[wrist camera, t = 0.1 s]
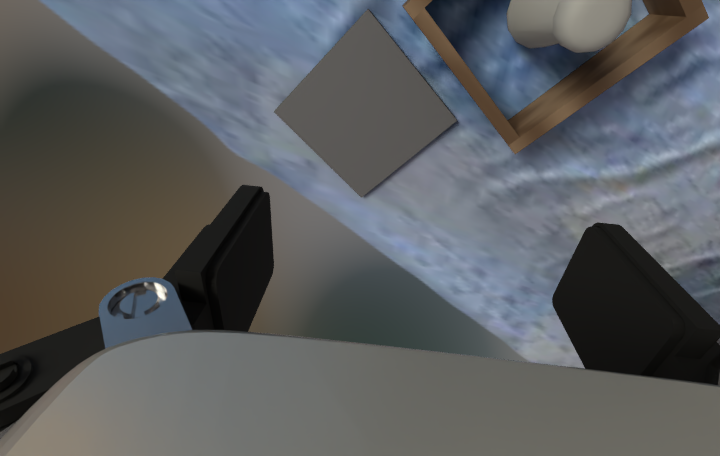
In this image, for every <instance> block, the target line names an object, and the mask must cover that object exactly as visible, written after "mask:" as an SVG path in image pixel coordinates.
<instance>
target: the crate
mask: <svg viewBox="0 0 720 456" xmlns="http://www.w3.org/2000/svg"><path fill="white" fill-rule="evenodd" d="M431 1H432V0H407V1H406V2H405V3H404V5H403V7H404V9H405V10H406V11H407V13H408V14H409V15H410V16H411V18H412V19H413V20H414V22H415V23H416V24H417V26H418V27H419V28H420V30H421V31H422V32H423V34H424V35H425V36H426V38H427V39H428V40H429V42H430V43H431V44H432V45H433V47H434V48H435V49H436V51H437V52H438V53H439V55H440V56H441V57H442V59H443V60H444V61H445V63H446V64H447V65H448V67H449V68H450V69H451V71H452V72H453V73H454V75H455V76H456V77H457V78H458V80H459V81H460V82H461V84H462V85H463V86H464V88H465V89H466V90H467V92H468V93H469V94H470V96H471V97H472V98H473V100H474V101H475V102H476V104H477V105H478V106H479V107H480V109H481V110H482V111H483V113H484V114H485V115H486V117H487V118H488V119H489V121H490V122H491V123H492V125H493V126H494V127H495V129H496V130H497V131H498V133H499V134H500V135H501V137H502V138H503V139H504V140H505V142H506V143H507V144H508V146H509V147H510V148H511V150H512V151H513V152H514V153H515V154H516V153H518V152H519V151H521V150H522V149H523V148H525V147H526V146H528V145H529V144H530V143H532V142H533V141H535V140H536V139H538V138H539V137H540V136H542V135H543V134H545V133H546V132H548V131H549V130H550V129H552V128H553V127H555V126H556V125H557V124H559V123H560V122H562V121H563V120H565V119H566V118H567V117H569V116H570V115H572V114H573V113H574V112H576V111H577V110H579V109H580V108H582V107H583V106H584V105H586V104H587V103H589V102H590V101H592V100H593V99H594V98H596V97H597V96H599V95H600V94H601V93H603V92H604V91H606V90H607V89H609V88H610V87H611V86H613V85H614V84H616V83H617V82H619V81H620V80H621V79H623V78H624V77H626V76H627V75H628V74H630V73H631V72H633V71H634V70H636V69H637V68H638V67H640V66H641V65H643V64H644V63H646V62H647V61H648V60H650V59H651V58H653V57H654V56H655V55H657V54H658V53H660V52H661V51H663V50H664V49H665V48H667V47H668V46H670V45H671V44H672V43H674V42H675V41H677V40H678V39H680V38H681V37H682V36H684V35H685V34H687V33H688V32H690V31H691V30H692V29H694V28H695V27H697V26H698V25H699V24H701V23H702V22H704V21H705V20H707V19H708V18H709V17H708V14H707V12H706V10H705V7H704V5H703V3H702V0H643V2H644V4H645V6H646V8H647V10H648V12H649V15H648V16H646V17H645V18H644V19H642V20H641V21H640V22H638V23H637V24H636V25H634V26H633V27H632V28H630V29H629V30H628V31H626V32H625V33H624V34H622V35H621V36H620V37H618V38H617V39H616V40H614V41H613V42H612V43H611V44H609V45H608V46H606V47H605V48H604V49H602V50H601V51H600V52H599V53H597V54H596V55H595V56H593V57H592V58H591V59H589V60H588V61H587V62H585V63H584V64H583V65H581V66H580V67H579V68H577V69H576V70H575V71H573V72H572V73H571V74H569V75H568V76H567V77H565V78H564V79H563V80H561V81H560V82H559V83H557V84H556V85H555V86H553V87H552V88H551V89H549V90H548V91H547V92H545V93H544V94H543V95H541V96H540V97H539V98H537V99H536V100H535V101H533V102H532V103H531V104H529V105H528V106H527V107H525V108H524V109H523V110H521V111H520V112H519V113H518V114H516V115H515V116H514V117H512V118H511V119H510V120H508V121H507V120H506V118H505V117H504V115H503V114H502V113H501V111H500V110H499V109H498V107H497V106H496V105H495V103H494V102H493V100H492V99H491V98H490V96H489V95H488V94H487V92H486V91H485V90H484V88H483V87H482V86H481V84H480V83H479V81H478V80H477V79H476V77H475V76H474V75H473V73H472V72H471V71H470V69H469V68H468V66H467V65H466V64H465V62H464V61H463V60H462V58H461V57H460V56H459V54H458V53H457V52H456V50H455V49H454V47H453V46H452V45H451V43H450V42H449V41H448V39H447V38H446V37H445V35H444V34H443V32H442V31H441V30H440V28H439V27H438V26H437V24H436V23H435V22H434V20H433V19H432V18H431V16H430V15H429V13H428V12H427V11H426V9H425V7H426V6H427V5H428V4H429V3H430V2H431Z"/></svg>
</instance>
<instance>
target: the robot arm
mask: <svg viewBox="0 0 720 456" xmlns="http://www.w3.org/2000/svg"><path fill="white" fill-rule="evenodd" d="M273 268H274V259H273V243H272V227H271V211H270V196H269V193H268V192H264V191H263V188H262V187H258V186H248V185H242V186H241V187H240V188H239V189H238V190H237V191H236V193H235V194H234V195H233V197H232V198H231V199H230V200H229V202H228V203H227V204H226V205H225V207H224V208H223V209H222V211H221V212H220V213H219V214H218V216H217V217H216V218H215V219H214V221H213V222H212V223H211V224H210V225H207V226H205V227H204V228H203V229H202V231H201V232H200V233H199V234H198V236H197V237H196V238H195V239H194V241H193V242H192V243H191V244H190V245H189V247H188V248H187V249H186V250H185V252H184V253H183V254H182V255H181V257H180V258H179V259H178V260H177V262H176V263H175V264H174V265H173V266H172V268H171V269H170V270H169V272H168V273H167V274H166V275H165V276H164V278H163V279H159V278H141V279H136V280H132V281H129V282H127V283H124V284H122V285H120V286H118V287H117V288H115V289H113V290H112V291H110V292H109V293H108V294H107V295H106V296H105V297H104V298H103V300H102V302H101V303H100V305H99V317H97V318H94V319H92V320H89V321H86V322H84V323H81V324H78V325H76V326H73V327H70V328H68V329H65V330H63V331H60V332H57V333H55V334H52V335H50V336H47V337H44V338H42V339H39V340H36V341H34V342H31V343H28V344H26V345H23V346H20V347H18V348H15V349H13V350H10V351H7V352H5V353H2V354H0V456H720V345H719V344H718V343H717V342H716V341H717V340H718V339H719V338H720V325H719V324H718V323H717V322H716V321H715V320H714V319H713V318H712V317H711V316H710V315H709V314H708V313H707V312H706V311H705V310H704V309H703V308H702V307H701V306H700V305H699V304H698V303H697V302H696V301H695V300H694V299H693V298H692V297H691V296H690V295H689V294H688V293H687V292H686V291H685V290H684V289H683V288H682V287H681V286H680V285H679V284H678V283H677V282H676V281H675V280H674V279H673V278H672V277H671V276H670V275H669V274H668V273H667V272H666V271H665V270H664V269H663V268H662V267H661V266H660V265H659V264H658V263H657V261H656V260H655V259H654V258H653V257H652V256H651V255H650V254H649V253H648V252H647V251H646V250H645V249H644V248H643V247H642V246H641V245H640V244H639V243H638V242H637V241H636V240H635V239H634V238H633V237H632V236H631V235H630V234H629V233H628V232H627V231H626V230H625V229H624V228H623V227H622V226H620V225H616V224H607V223H595V224H594V225H593V226H592V227H588V228H587V229H586V230H585V232H584V234H583V236H582V238H581V240H580V242H579V244H578V246H577V248H576V250H575V252H574V254H573V256H572V258H571V260H570V262H569V264H568V266H567V268H566V270H565V272H564V274H563V276H562V278H561V280H560V282H559V284H558V286H557V288H556V290H555V292H554V295H553V299H552V303H553V307H554V309H555V311H556V313H557V315H558V317H559V319H560V320H561V322H562V324H563V326H564V328H565V330H566V332H567V334H568V336H569V338H570V340H571V342H572V344H573V346H574V348H575V350H576V351H577V353H578V355H579V357H580V359H581V361H582V363H583V365H584V367H585V369H583V368H574V367H566V366H557V365H548V364H540V363H531V362H522V361H514V360H505V359H496V358H487V357H479V356H470V355H461V354H452V353H443V352H435V351H426V350H416V349H407V348H399V347H390V346H381V345H372V344H363V343H353V342H344V341H334V340H326V339H317V338H307V337H298V336H289V335H280V334H269V333H254V332H248V330H249V328H250V325H251V323H252V321H253V318H254V316H255V314H256V311H257V309H258V307H259V304H260V302H261V300H262V297H263V295H264V293H265V290H266V288H267V286H268V283H269V281H270V279H271V277H272V274H273Z"/></svg>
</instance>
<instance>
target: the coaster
mask: <svg viewBox="0 0 720 456" xmlns="http://www.w3.org/2000/svg"><path fill="white" fill-rule="evenodd" d="M274 112H275V113H276V114H277V115H278V116H279V117H280V118H281V119H282V120H283V121H284V122H285V123H286V124H287V125H288V126H289V127H290V128H291V129H292V130H293V131H294V132H295V133H296V134H297V135H298V136H299V137H300V138H301V139H302V140H303V141H304V142H305V143H306V144H307V145H308V146H309V147H310V148H311V149H312V150H313V151H314V152H315V153H317V154H318V155H319V156H320V157H321V158H322V159H323V160H324V161H325V162H326V163H327V164H328V165H329V166H330V167H331V168H332V169H333V170H334V171H335V172H336V173H337V174H338V175H339V176H340V177H341V178H342V179H343V180H344V181H345V182H346V183H347V184H348V185H349V186H350V187H351V188H352V189H353V190H354V191H355V192H356V193H357V194H358V195H359V196H360V197H361V198H362V197H363V196H364V195H365V194H367V193H368V192H369V191H370V190H372V189H373V188H374V187H375V186H377V185H378V184H379V183H380V182H382V181H383V180H384V179H385V178H386V177H388V176H389V175H390V174H391V173H393V172H394V171H395V170H396V169H398V168H399V167H400V166H401V165H403V164H404V163H405V162H406V161H408V160H409V159H410V158H411V157H413V156H414V155H415V154H416V153H418V152H419V151H420V150H421V149H422V148H424V147H425V146H426V145H427V144H429V143H430V142H431V141H432V140H434V139H435V138H436V137H437V136H439V135H440V134H441V133H442V132H444V131H445V130H446V129H447V128H449V127H450V126H451V125H452V124H454V123H455V122H456V121H457V120H456V118H455V117H454V116H453V114H452V113H451V112H450V111H449V109H448V108H447V107H446V106H445V104H444V103H443V102H442V101H441V99H440V98H439V97H438V96H437V94H436V93H435V92H434V91H433V89H432V88H431V87H430V86H429V84H428V83H427V82H426V81H425V79H424V78H423V77H422V76H421V74H420V73H419V72H418V71H417V69H416V68H415V67H414V66H413V64H412V63H411V62H410V61H409V59H408V58H407V57H406V56H405V54H404V53H403V52H402V51H401V49H400V48H399V47H398V46H397V44H396V43H395V42H394V41H393V39H392V38H391V37H390V36H389V34H388V33H387V32H386V31H385V29H384V28H383V27H382V25H381V24H380V23H379V22H378V20H377V19H376V18H375V17H374V15H373V14H372V13H371V12H370V10H369V9H368V10H367V11H366V12H365V13H364V14H363V15H362V16H361V17H360V18H359V19H358V20H357V22H356V23H355V24H354V25H353V26H352V27H351V28H350V29H349V30H348V31H347V32H346V34H345V35H344V36H343V37H342V38H341V39H340V40H339V41H338V42H337V43H336V44H335V46H334V47H333V48H332V49H331V50H330V51H329V52H328V53H327V54H326V55H325V56H324V58H323V59H322V60H321V61H320V62H319V63H318V64H317V65H316V66H315V67H314V68H313V69H312V71H311V72H310V73H309V74H308V75H307V76H306V77H305V78H304V79H303V80H302V81H301V83H300V84H299V85H298V86H297V87H296V88H295V89H294V90H293V91H292V92H291V93H290V95H289V96H288V97H287V98H286V99H285V100H284V101H283V102H282V103H281V104H280V105H279V107H278V108H277V109H276V110H275V111H274Z"/></svg>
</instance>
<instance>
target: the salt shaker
mask: <svg viewBox="0 0 720 456" xmlns="http://www.w3.org/2000/svg"><path fill="white" fill-rule="evenodd" d="M631 6H632V0H511V2H510V5H509V8H508V11H507V24H508V30H509V32H510V33H511V35H512V36H513V38H514V39H515V41H516V42H517V43H519V44H521V45H523V46H525V47H527V48H540V47H547V46H551V45H555V44H560V45H561V46H563V47H565V48H567V49H569V50H571V51H573V52H575V53H582V52H593V51H597V50H599V49H601V48H603V47H605V46H607V45H609V44H611V43H612V42H613V41H614V40H615V39H616V37H617V36H618V35H619V34H620V33H621V32H622V31H623V30H624V28H625V26H626V24H627V22H628V19H629V17H630V15H631Z"/></svg>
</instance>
